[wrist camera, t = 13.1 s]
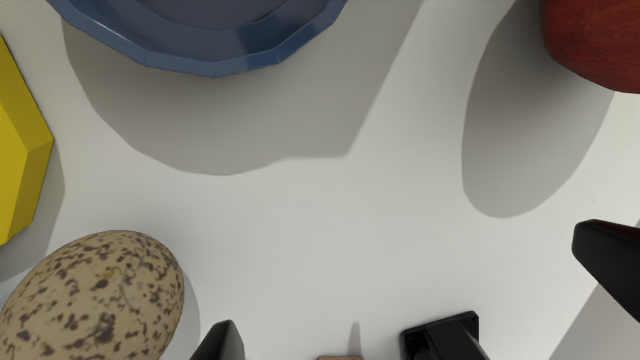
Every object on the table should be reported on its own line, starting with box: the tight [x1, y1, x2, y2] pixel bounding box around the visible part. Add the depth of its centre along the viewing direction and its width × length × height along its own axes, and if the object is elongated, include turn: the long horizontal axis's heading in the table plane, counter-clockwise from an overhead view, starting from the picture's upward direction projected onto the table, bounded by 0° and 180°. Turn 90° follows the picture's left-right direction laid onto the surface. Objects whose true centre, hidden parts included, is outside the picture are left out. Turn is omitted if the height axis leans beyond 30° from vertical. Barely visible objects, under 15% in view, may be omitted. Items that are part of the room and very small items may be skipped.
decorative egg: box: [0, 230, 184, 360], centre depth 15 cm, size 7×7×10 cm
